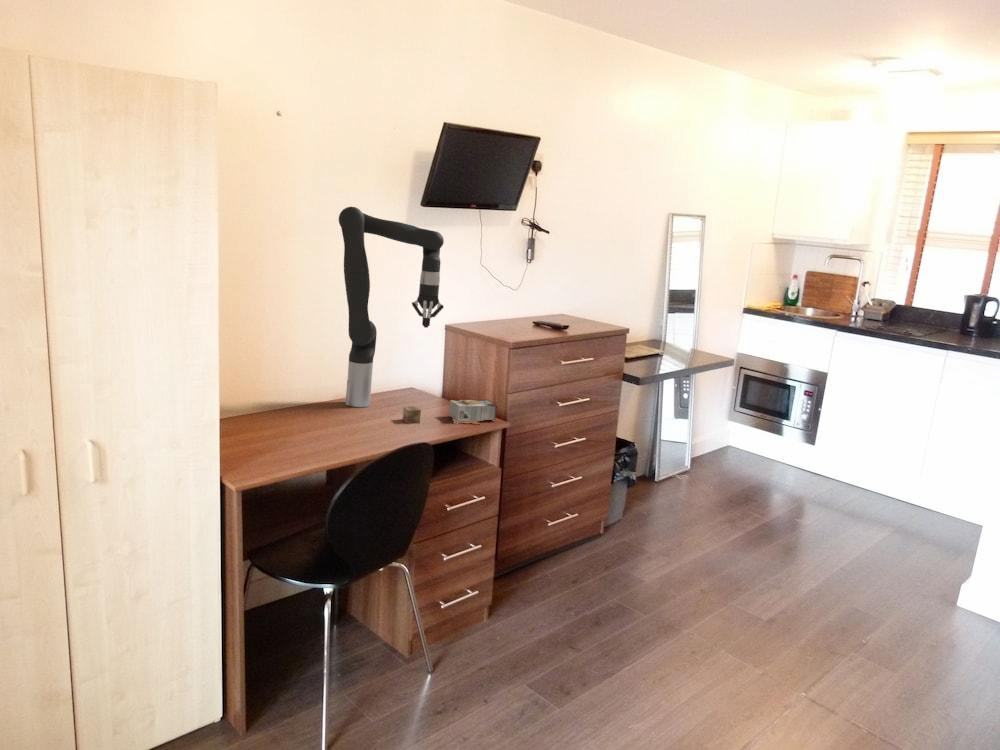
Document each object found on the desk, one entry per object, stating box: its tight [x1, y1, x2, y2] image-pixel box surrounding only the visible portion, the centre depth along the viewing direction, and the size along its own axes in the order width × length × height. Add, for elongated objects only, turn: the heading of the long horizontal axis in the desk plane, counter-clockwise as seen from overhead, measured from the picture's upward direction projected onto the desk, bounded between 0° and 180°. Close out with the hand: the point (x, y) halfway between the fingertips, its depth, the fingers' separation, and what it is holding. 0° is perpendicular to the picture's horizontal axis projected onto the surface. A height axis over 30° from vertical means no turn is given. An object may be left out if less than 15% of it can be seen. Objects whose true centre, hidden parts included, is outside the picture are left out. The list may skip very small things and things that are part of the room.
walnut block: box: [402, 406, 422, 424], centre depth 261 cm, size 5×5×5 cm
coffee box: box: [448, 399, 498, 422], centre depth 273 cm, size 9×6×16 cm
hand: (425, 327), depth 278 cm, fingers closed
